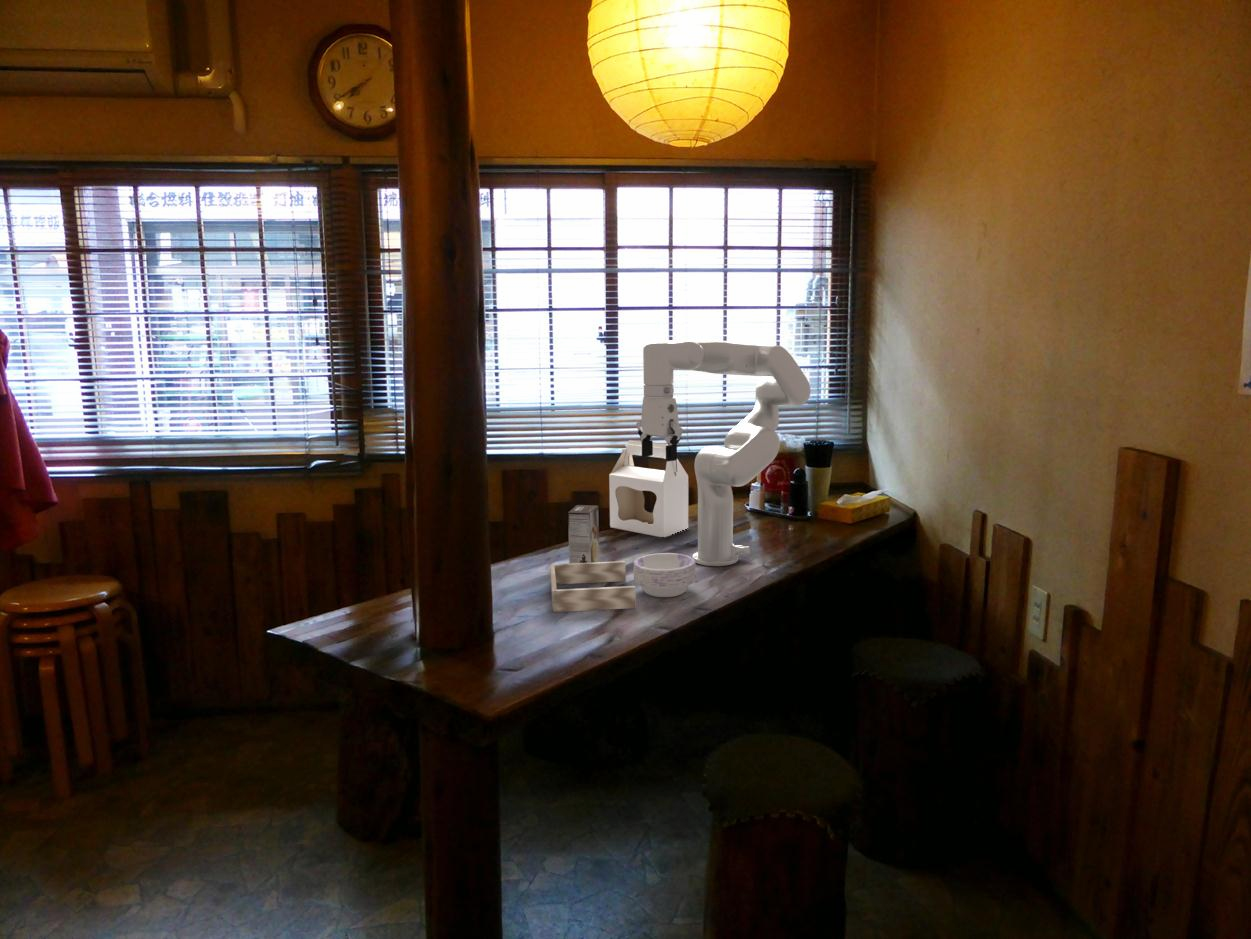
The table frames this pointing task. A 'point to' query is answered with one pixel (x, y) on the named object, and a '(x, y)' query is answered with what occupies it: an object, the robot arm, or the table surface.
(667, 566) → the paper bowls
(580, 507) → the coffee box
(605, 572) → the box
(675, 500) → the gable box
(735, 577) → the table surface
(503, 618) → the table surface
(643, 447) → the robot arm
